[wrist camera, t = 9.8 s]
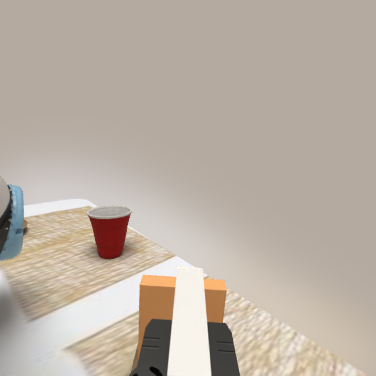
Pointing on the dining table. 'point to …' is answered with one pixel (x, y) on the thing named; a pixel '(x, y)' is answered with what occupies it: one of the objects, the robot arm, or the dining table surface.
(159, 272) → the dining table surface
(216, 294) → the upright orange slab
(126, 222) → the plastic cup
